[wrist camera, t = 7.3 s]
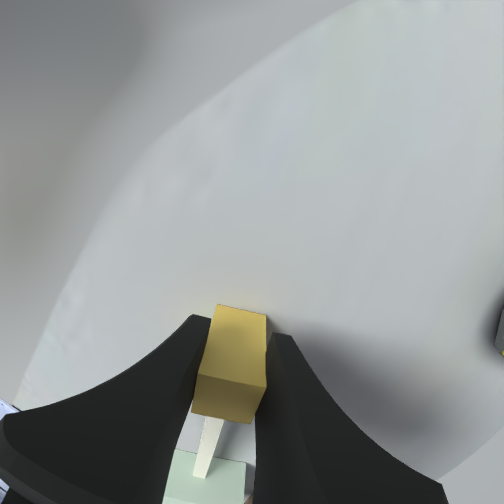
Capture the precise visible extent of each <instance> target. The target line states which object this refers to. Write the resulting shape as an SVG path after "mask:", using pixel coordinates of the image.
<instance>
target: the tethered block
mask: <svg viewBox="0 0 504 504" xmlns="http://www.w3.org/2000/svg"><path fill="white" fill-rule="evenodd" d="M265 353H266V315H263V314H258V313H253V312H249V311H244V310H240V309H236V308H231V307H227V306H223V305H218V304H217V306H216V309H215V313H214V316H213V320H212V323H211V327H210V330H209V334H208V339H207V343H206V347H205V351H204V354H203V358H202V361H201V364H200V367H199V370H198V374H197V380H196V386H195V391H194V397H193V403H192V409H191V413H195V414H200V415H204V416H206V420H205V424H204V428H203V432H202V437H201V441H200V445H199V449H198V454H195V453H191V452H187V451H182V450H178V449H175V451H174V454H173V459H172V463H171V467H170V471H169V475H168V480H167V484H166V489H165V493H164V498H163V502H162V504H243V503H244V487H245V472H246V463H245V462H238V461H232V460H226V459H220V458H214V457H212V456H213V453H214V450H215V447H216V444H217V441H218V438H219V435H220V432H221V429H222V426H223V423H224V420H228V421H233V422H239V423H245V424H251V422H252V420H253V418H254V415H255V413H256V411H257V408H258V406H259V404H260V401H261V399H262V397H263V394H264V392H265V390H266V374H265Z"/></svg>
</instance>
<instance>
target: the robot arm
mask: <svg viewBox="0 0 504 504" xmlns="http://www.w3.org/2000/svg"><path fill="white" fill-rule="evenodd" d="M210 324H211V318H207V317H202V316H198V315H194V314H193V315H191V316H189V317H188V318H187V320H186V321H185V322H184V323H183V324H182V325H181V326H180V327H179V328H178V329H177V330H176V331H175V332H174V333H173V334H172V335H171V336H170V337H168V338H167V339H166V340H165V341H164V342H163V343H162V344H160V345H159V346H158V347H157V348H156V349H154V350H153V351H152V352H151V353H149V354H148V355H147V356H145V357H144V358H143V359H141V360H140V361H139V362H137V363H136V364H134V365H133V366H131V367H130V368H128V369H127V370H125V371H124V372H122V373H120V374H118V375H117V376H115V377H113V378H112V379H110V380H108V381H106V382H104V383H102V384H100V385H98V386H96V387H94V388H92V389H90V390H88V391H85V392H83V393H81V394H78V395H75V396H73V397H70V398H67V399H64V400H62V401H59V402H56V403H53V404H50V405H47V406H43V407H39V408H34V409H30V410H25V411H21V412H20V411H18V410H17V409H15V408H14V407H12V406H11V405H10V404H8V403H7V402H5V401H4V400H2V399H1V398H0V504H162V502H163V498H164V493H165V489H166V484H167V480H168V475H169V471H170V467H171V463H172V459H173V454H174V451H175V447H176V444H177V441H178V438H179V435H180V433H181V430H182V427H183V425H184V422H185V419H186V416H187V414H188V411H189V408H190V406H191V403H192V400H193V397H194V391H195V386H196V380H197V374H198V370H199V367H200V364H201V361H202V358H203V354H204V351H205V347H206V343H207V339H208V334H209V329H210ZM265 374H266V390H265V392H264V394H263V397H262V399H261V401H260V404H259V406H258V408H257V411H256V413H255V435H256V471H255V481H254V491H253V500H252V504H449V503H448V500H447V497H446V495H445V492H444V489H443V486H442V484H440V483H438V482H436V481H434V480H432V479H430V478H428V477H426V476H424V475H422V474H421V473H419V472H417V471H415V470H413V469H411V468H410V467H408V466H407V465H405V464H404V463H402V462H401V461H399V460H398V459H396V458H395V457H393V456H392V455H391V454H389V453H388V452H387V451H385V450H384V449H383V448H381V447H380V446H379V445H378V444H377V443H375V442H374V441H373V440H372V439H371V438H370V437H368V436H367V435H366V434H365V433H364V432H363V431H362V430H361V429H360V428H359V427H358V426H357V425H356V424H355V423H354V422H353V421H352V420H351V419H350V418H349V417H348V416H347V415H346V414H345V413H344V412H343V411H342V409H341V408H340V407H339V406H338V405H337V404H336V402H335V401H334V400H333V398H332V397H331V396H330V395H329V393H328V392H327V391H326V389H325V388H324V387H323V385H322V384H321V383H320V381H319V380H318V378H317V377H316V375H315V374H314V372H313V371H312V369H311V368H310V366H309V365H308V363H307V361H306V360H305V358H304V356H303V355H302V353H301V351H300V350H299V348H298V346H297V345H296V343H295V342H294V340H293V338H292V337H291V336H290V335H285V334H279V333H274V332H273V333H272V336H271V339H270V342H269V345H268V348H267V350H266V353H265Z"/></svg>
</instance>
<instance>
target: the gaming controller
mask: <svg viewBox="0 0 504 504" xmlns="http://www.w3.org/2000/svg"><path fill="white" fill-rule="evenodd" d="M494 346H495V347H496V348H497V350H498V351H499V353H500V354H501V355H502V356H503V357H504V308H503V310H502V314H501V318H500V323H499V327H498V332H497V336H496V340H495V343H494Z"/></svg>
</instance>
